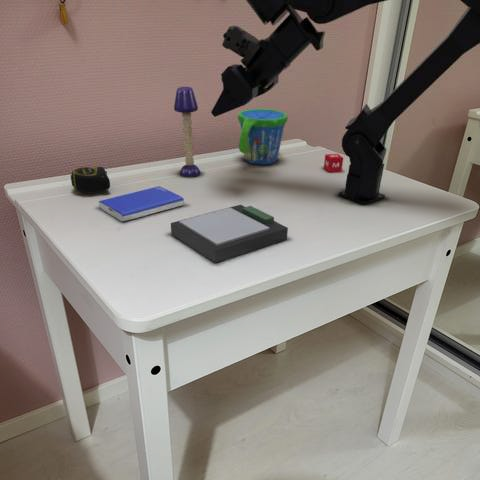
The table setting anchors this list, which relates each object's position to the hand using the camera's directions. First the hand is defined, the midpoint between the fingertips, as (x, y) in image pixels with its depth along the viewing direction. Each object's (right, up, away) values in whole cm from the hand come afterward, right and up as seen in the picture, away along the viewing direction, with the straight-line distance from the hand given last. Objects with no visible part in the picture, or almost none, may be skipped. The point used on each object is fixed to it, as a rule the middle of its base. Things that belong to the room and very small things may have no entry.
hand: (221, 110), depth 94 cm
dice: (+24, -7, +14) cm, 29 cm away
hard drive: (-14, -20, -7) cm, 25 cm away
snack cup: (+8, -4, +19) cm, 21 cm away
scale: (+2, -27, -16) cm, 32 cm away
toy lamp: (-7, -10, +9) cm, 15 cm away
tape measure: (-24, -15, 0) cm, 29 cm away
